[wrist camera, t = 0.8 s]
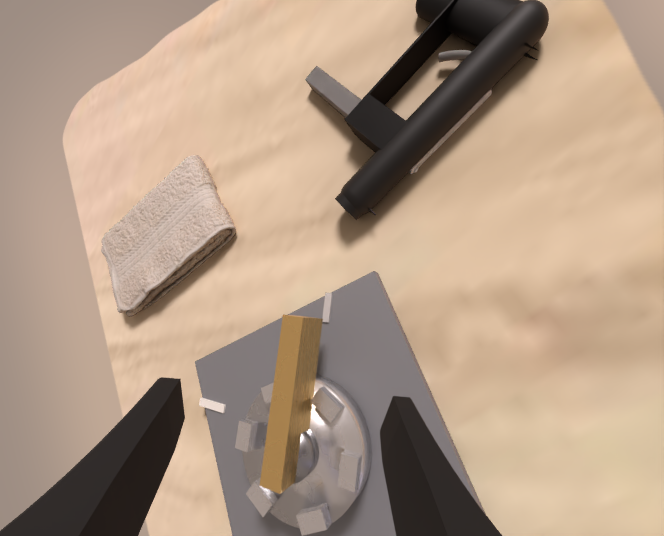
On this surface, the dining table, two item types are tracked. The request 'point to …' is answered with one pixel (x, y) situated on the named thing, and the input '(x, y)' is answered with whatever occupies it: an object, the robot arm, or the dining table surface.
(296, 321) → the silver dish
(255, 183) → the dining table surface
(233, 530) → the nut board
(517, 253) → the dining table surface
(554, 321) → the dining table surface
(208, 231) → the washcloth
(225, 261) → the dining table surface
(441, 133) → the door handle
